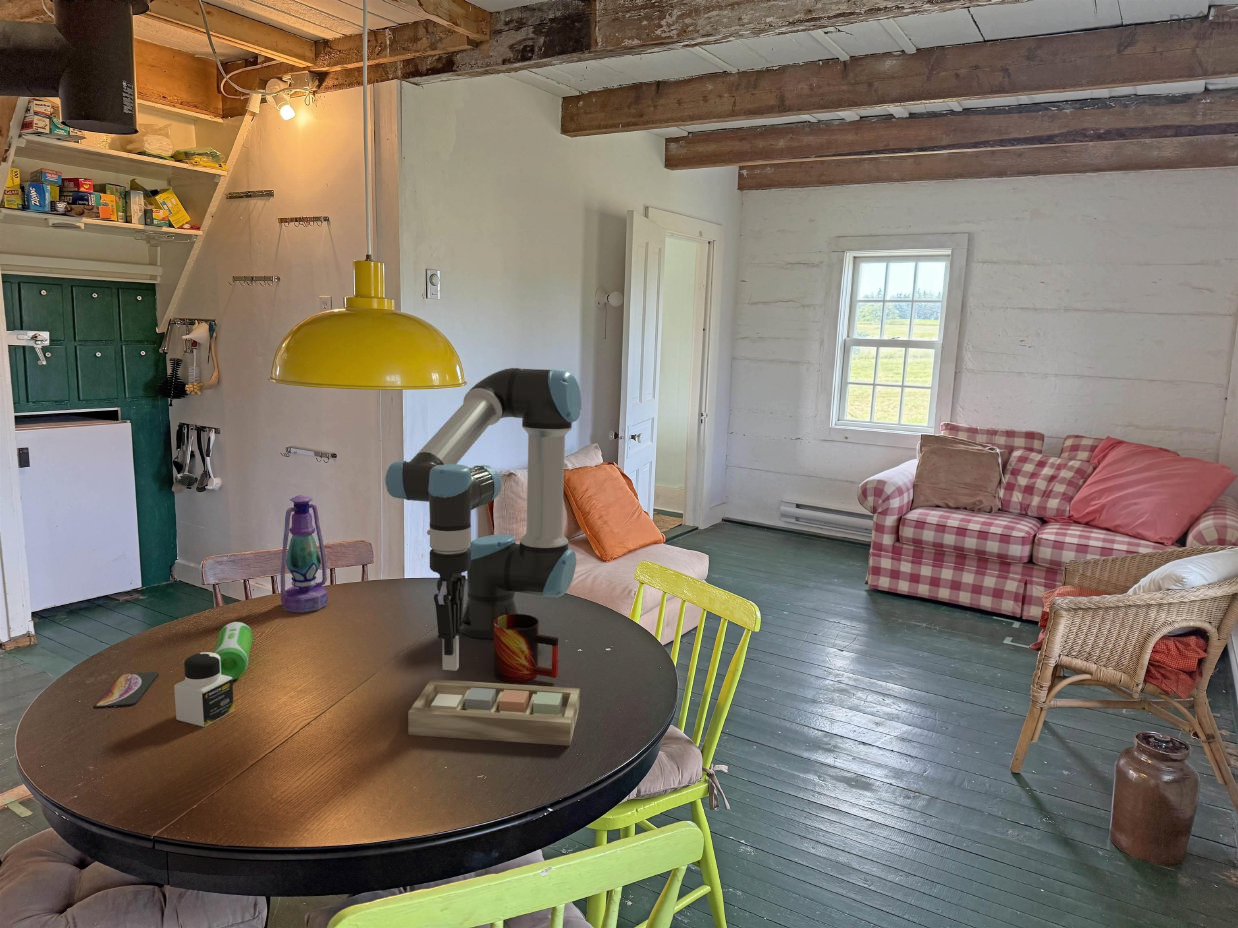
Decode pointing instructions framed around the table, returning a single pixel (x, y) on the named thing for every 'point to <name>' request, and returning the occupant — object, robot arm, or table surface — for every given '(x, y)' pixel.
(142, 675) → the smartphone
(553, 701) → the key sage
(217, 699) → the medicine bottle
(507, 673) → the mug
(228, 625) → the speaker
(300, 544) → the lantern
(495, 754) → the table surface
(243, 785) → the table surface
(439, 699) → the key ivory
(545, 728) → the wooden compartment tray
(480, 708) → the key slate
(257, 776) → the table surface
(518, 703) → the key terracotta
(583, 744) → the table surface
